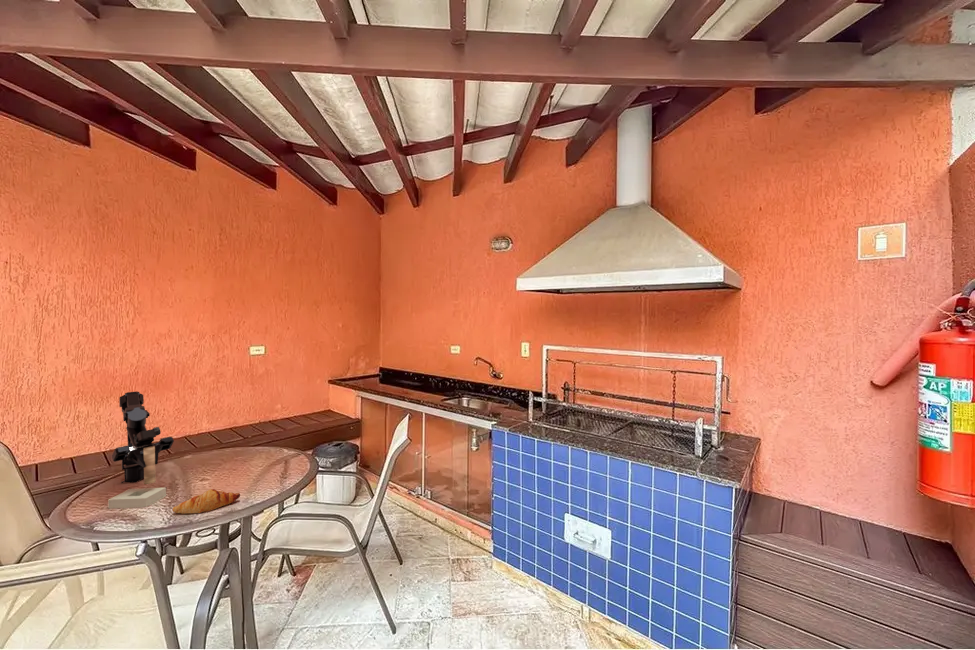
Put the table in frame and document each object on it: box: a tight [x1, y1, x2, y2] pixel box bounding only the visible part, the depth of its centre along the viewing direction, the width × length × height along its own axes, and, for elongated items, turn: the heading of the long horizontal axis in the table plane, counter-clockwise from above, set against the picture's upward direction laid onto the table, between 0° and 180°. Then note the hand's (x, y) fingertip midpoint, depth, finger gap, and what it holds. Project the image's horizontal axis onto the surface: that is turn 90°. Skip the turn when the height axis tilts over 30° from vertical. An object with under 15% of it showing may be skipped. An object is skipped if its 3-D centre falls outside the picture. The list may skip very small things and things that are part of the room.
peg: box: [143, 446, 157, 485], centre depth 160 cm, size 4×4×14 cm
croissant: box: [172, 488, 241, 514], centre depth 152 cm, size 21×10×8 cm, turn 120°
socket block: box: [107, 487, 167, 510], centre depth 157 cm, size 14×10×4 cm
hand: (150, 465), depth 160 cm, fingers closed on peg, 3 cm apart
